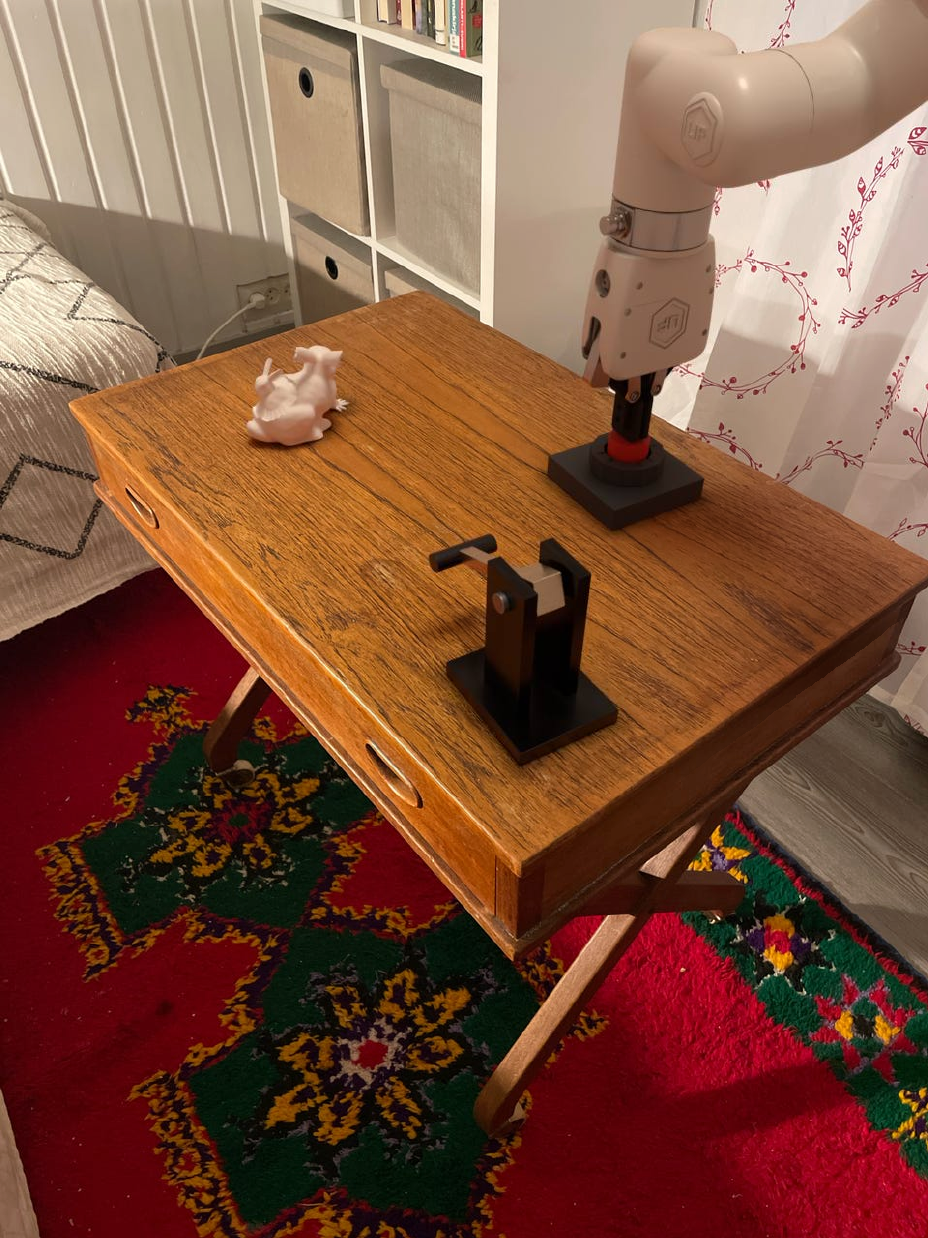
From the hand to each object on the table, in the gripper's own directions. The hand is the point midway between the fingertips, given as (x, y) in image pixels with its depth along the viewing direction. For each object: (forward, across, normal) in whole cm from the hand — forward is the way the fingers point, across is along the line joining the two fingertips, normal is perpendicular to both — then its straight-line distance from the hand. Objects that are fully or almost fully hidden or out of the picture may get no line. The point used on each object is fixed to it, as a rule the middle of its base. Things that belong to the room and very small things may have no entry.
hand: (628, 433), depth 85 cm
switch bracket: (+6, -22, -18) cm, 29 cm away
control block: (+6, 0, 0) cm, 6 cm away
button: (+2, 0, 0) cm, 2 cm away
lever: (-2, -22, -14) cm, 26 cm away
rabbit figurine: (+6, -21, +23) cm, 32 cm away
